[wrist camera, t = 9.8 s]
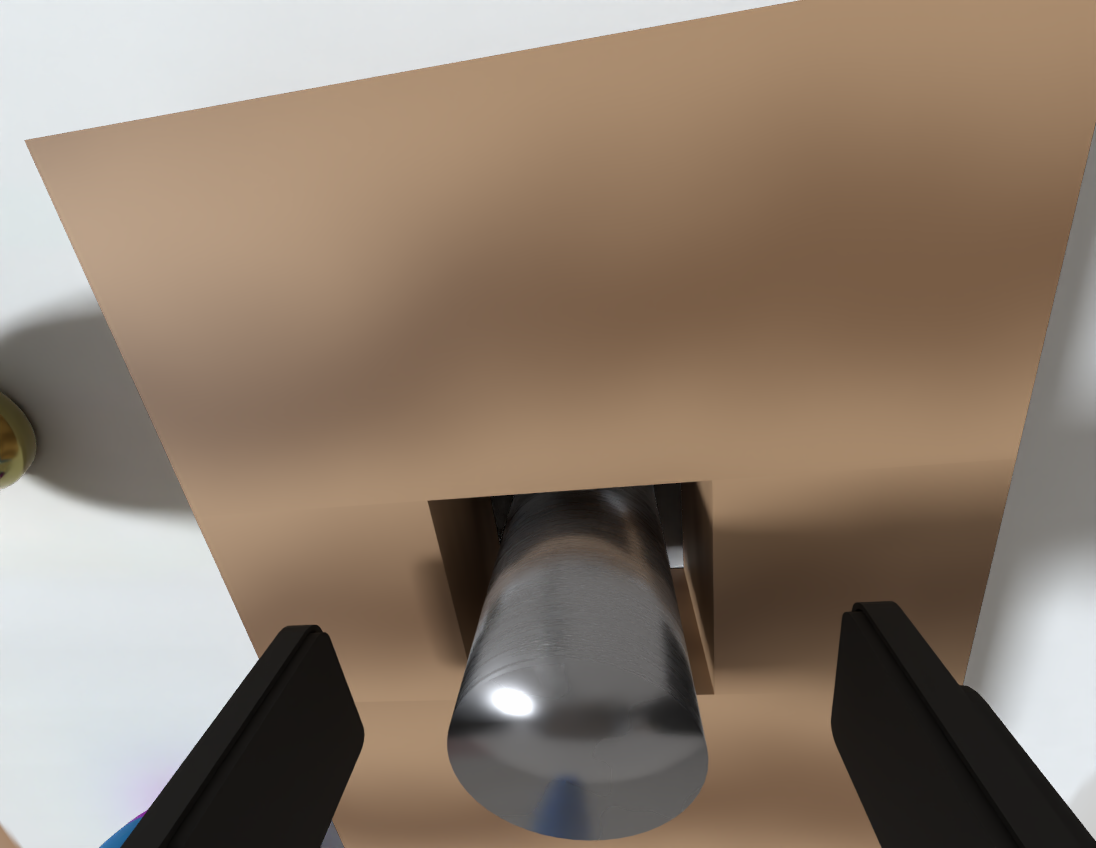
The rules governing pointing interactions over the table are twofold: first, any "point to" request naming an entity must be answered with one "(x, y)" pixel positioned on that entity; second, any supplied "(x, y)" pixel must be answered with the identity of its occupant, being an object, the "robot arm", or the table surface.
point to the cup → (14, 442)
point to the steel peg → (580, 673)
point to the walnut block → (608, 354)
